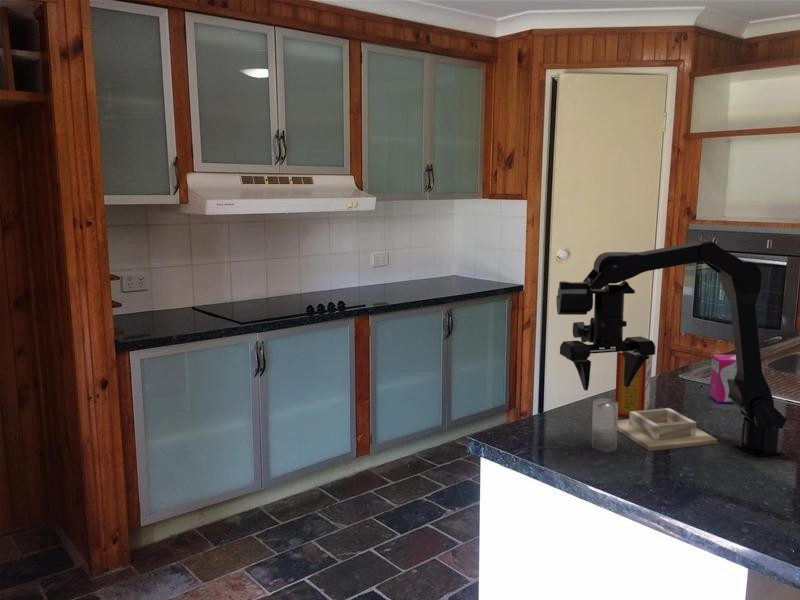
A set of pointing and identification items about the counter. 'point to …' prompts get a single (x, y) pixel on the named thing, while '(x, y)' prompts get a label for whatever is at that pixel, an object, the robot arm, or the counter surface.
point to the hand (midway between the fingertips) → (606, 388)
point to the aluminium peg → (604, 425)
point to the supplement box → (722, 377)
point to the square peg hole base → (663, 430)
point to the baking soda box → (633, 387)
